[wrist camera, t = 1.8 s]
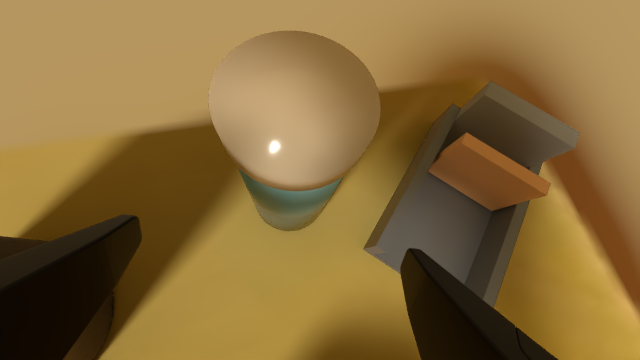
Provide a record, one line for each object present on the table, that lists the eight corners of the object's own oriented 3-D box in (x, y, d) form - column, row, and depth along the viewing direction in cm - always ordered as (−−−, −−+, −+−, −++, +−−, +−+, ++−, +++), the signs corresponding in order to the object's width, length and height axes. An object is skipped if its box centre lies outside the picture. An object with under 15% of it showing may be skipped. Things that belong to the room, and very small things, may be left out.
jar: (339, 207, 21) (413, 124, 9) (277, 248, 20) (268, 213, 8) (300, 150, 23) (320, 10, 10) (239, 185, 21) (176, 67, 9)
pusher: (491, 211, 22) (546, 195, 17) (424, 169, 23) (461, 143, 18) (494, 201, 22) (550, 183, 18) (429, 160, 23) (466, 132, 18)
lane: (460, 313, 20) (537, 332, 14) (363, 249, 21) (396, 240, 15) (514, 171, 25) (590, 138, 19) (433, 122, 25) (481, 74, 19)
